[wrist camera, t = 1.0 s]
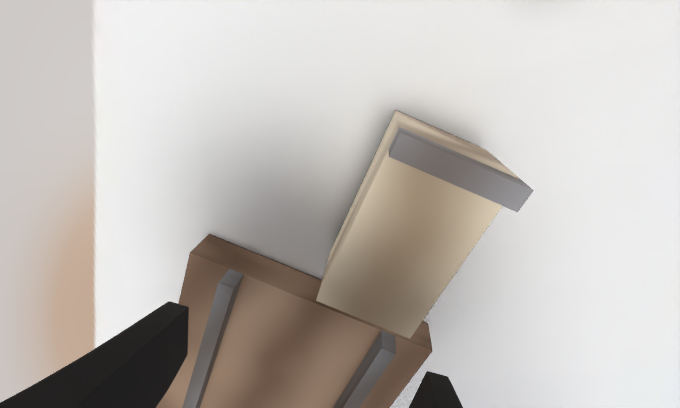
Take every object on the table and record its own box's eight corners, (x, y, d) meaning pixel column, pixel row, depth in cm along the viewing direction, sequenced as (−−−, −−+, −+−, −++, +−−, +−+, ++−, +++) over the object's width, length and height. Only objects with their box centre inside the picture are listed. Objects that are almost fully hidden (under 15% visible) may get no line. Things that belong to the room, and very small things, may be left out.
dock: (427, 323, 19) (435, 369, 16) (336, 451, 26) (330, 501, 23) (209, 234, 19) (176, 265, 16) (170, 387, 25) (142, 430, 22)
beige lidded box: (482, 146, 15) (533, 190, 10) (404, 275, 18) (411, 357, 13) (395, 108, 15) (400, 132, 10) (332, 245, 18) (311, 317, 13)
